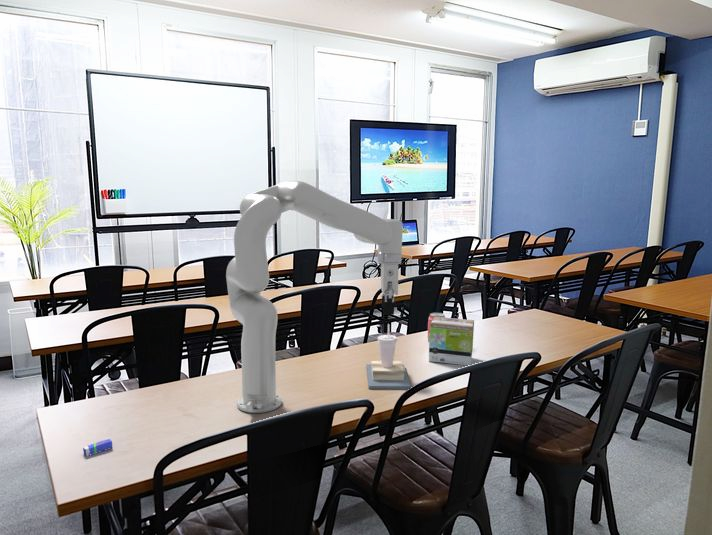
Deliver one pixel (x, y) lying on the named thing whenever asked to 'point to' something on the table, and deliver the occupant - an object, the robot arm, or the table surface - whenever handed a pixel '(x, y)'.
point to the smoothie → (387, 349)
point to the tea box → (451, 340)
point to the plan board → (387, 381)
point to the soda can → (431, 321)
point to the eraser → (97, 447)
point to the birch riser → (387, 371)
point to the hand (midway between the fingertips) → (387, 310)
